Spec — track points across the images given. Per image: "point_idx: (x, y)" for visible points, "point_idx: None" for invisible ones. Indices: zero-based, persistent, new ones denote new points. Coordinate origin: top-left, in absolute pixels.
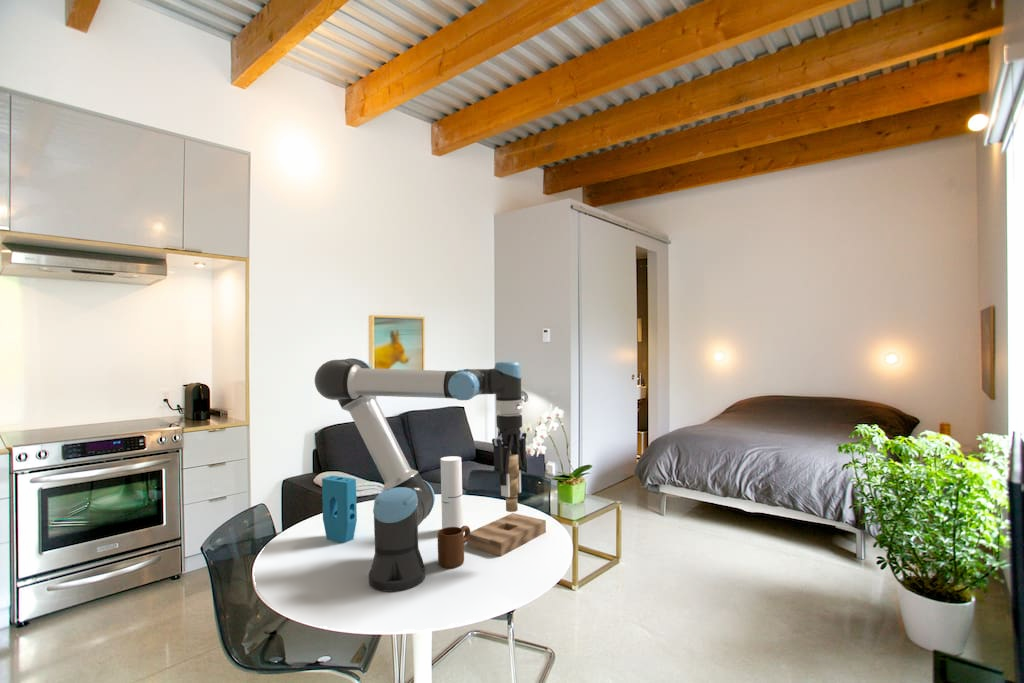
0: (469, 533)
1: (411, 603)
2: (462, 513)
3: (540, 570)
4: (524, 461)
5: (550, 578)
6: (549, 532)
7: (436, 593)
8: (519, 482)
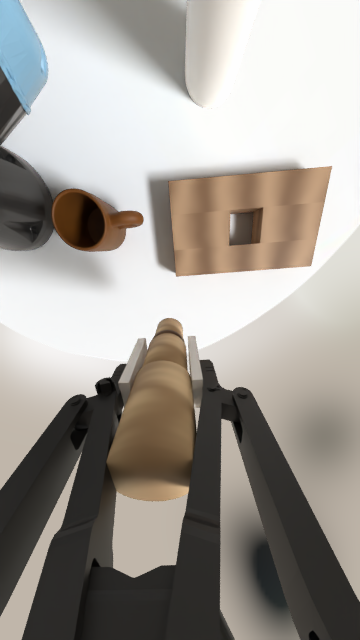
0: (138, 225)
1: (8, 284)
2: (235, 59)
3: None
4: (241, 433)
5: None
6: (298, 269)
7: (44, 288)
8: (190, 376)
